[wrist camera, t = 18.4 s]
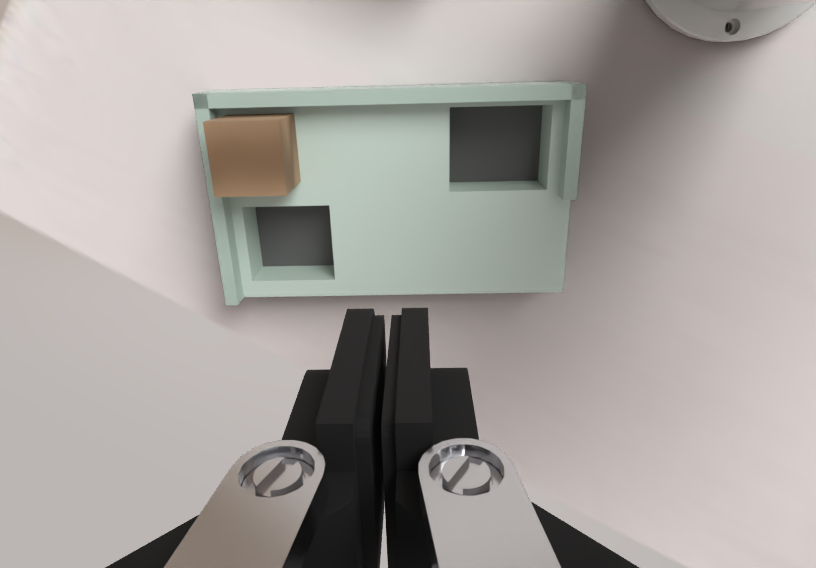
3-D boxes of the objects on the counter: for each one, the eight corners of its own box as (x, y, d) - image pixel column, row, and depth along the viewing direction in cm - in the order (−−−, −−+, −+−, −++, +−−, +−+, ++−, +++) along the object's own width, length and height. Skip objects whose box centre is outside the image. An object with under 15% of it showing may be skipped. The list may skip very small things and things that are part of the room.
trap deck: (217, 89, 35) (192, 94, 31) (567, 81, 35) (586, 84, 31) (244, 280, 40) (225, 305, 36) (552, 275, 40) (567, 299, 36)
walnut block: (226, 114, 33) (202, 122, 29) (294, 113, 33) (278, 120, 29) (236, 182, 35) (214, 197, 31) (300, 180, 34) (286, 195, 31)
